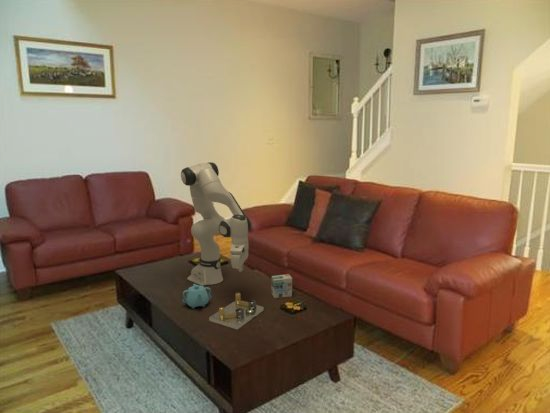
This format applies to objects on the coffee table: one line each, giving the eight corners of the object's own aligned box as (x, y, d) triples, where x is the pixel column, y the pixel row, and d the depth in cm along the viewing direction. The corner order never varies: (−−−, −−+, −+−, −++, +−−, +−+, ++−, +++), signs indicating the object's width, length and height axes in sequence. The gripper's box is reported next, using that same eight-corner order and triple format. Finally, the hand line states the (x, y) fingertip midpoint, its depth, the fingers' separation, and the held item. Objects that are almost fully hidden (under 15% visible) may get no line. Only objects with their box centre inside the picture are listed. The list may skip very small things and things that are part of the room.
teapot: (196, 298, 232) (194, 279, 230) (217, 303, 225) (215, 283, 223) (180, 308, 221) (178, 288, 219) (202, 312, 214) (200, 292, 212)
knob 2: (233, 304, 219) (233, 294, 217) (238, 301, 222) (238, 291, 221) (253, 309, 212) (253, 299, 211) (257, 306, 216) (257, 296, 215)
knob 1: (219, 320, 201) (219, 310, 200) (218, 317, 205) (218, 306, 203) (244, 316, 205) (244, 306, 203) (243, 313, 208) (242, 303, 207)
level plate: (209, 321, 205) (208, 314, 205) (236, 303, 225) (236, 297, 224) (238, 329, 197) (238, 322, 196) (264, 310, 216) (264, 304, 215)
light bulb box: (274, 298, 230) (274, 280, 228) (271, 293, 237) (270, 275, 235) (292, 296, 233) (292, 278, 231) (289, 291, 240) (289, 273, 237)
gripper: (239, 240, 230) (240, 263, 233) (228, 251, 210) (229, 277, 213) (250, 240, 229) (251, 264, 232) (240, 252, 209) (241, 278, 212)
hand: (240, 270), depth 222 cm, fingers closed
